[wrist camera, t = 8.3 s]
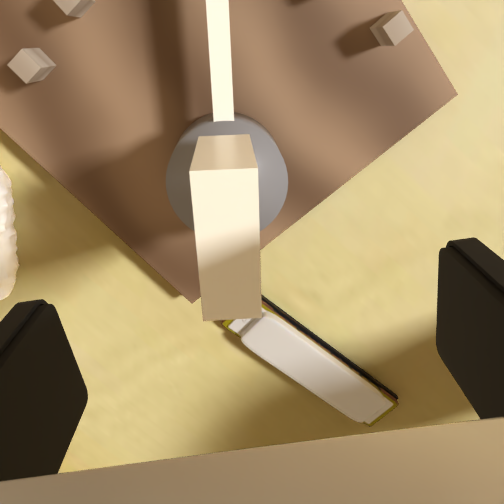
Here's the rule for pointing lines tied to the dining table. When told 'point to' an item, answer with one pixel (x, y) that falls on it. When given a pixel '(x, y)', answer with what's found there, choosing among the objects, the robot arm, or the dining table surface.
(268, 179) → the dial knob with pointer
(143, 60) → the board
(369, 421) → the harmonica
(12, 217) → the seated beast figurine
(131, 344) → the dining table surface
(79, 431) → the dining table surface
